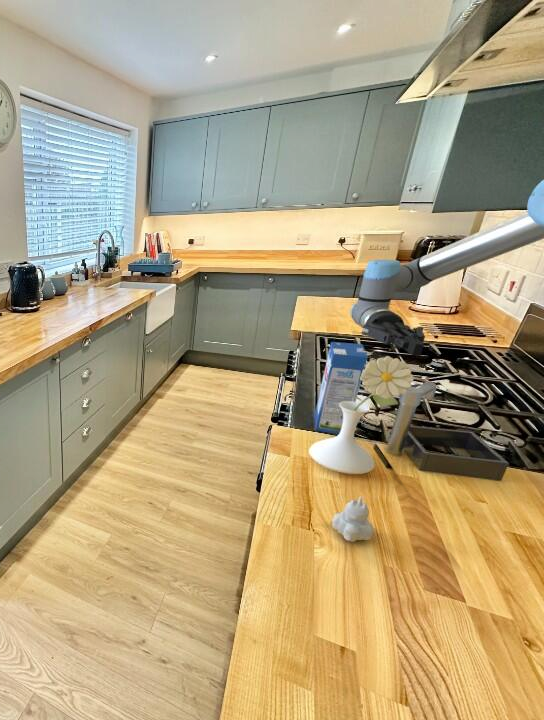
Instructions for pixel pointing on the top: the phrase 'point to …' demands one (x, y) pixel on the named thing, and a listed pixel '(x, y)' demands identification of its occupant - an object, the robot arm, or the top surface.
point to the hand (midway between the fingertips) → (418, 350)
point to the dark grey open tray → (479, 466)
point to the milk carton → (339, 384)
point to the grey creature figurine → (354, 521)
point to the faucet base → (398, 433)
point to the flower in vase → (343, 449)
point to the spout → (418, 394)
